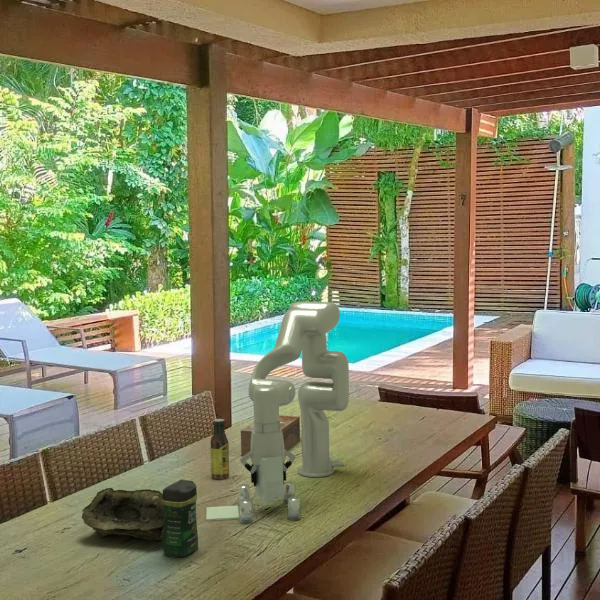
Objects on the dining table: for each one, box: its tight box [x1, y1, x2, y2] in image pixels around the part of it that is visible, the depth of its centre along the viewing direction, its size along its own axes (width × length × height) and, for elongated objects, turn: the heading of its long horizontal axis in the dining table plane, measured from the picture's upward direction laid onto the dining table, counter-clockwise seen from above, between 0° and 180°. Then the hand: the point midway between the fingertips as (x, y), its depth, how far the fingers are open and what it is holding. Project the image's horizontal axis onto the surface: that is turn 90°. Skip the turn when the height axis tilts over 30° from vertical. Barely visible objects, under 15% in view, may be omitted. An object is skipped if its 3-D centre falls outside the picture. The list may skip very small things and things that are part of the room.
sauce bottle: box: [209, 418, 230, 480], centre depth 279 cm, size 7×6×20 cm
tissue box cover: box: [240, 415, 301, 457], centre depth 314 cm, size 26×14×10 cm, turn 161°
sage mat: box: [205, 505, 240, 522], centre depth 244 cm, size 10×10×1 cm
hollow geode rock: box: [81, 487, 164, 542], centre depth 229 cm, size 28×13×15 cm
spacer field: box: [237, 481, 301, 524], centre depth 246 cm, size 18×18×6 cm
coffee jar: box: [161, 479, 199, 558], centre depth 217 cm, size 10×8×19 cm
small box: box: [254, 456, 284, 503], centre depth 245 cm, size 8×6×13 cm
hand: (268, 483), depth 246 cm, fingers closed on small box, 7 cm apart
